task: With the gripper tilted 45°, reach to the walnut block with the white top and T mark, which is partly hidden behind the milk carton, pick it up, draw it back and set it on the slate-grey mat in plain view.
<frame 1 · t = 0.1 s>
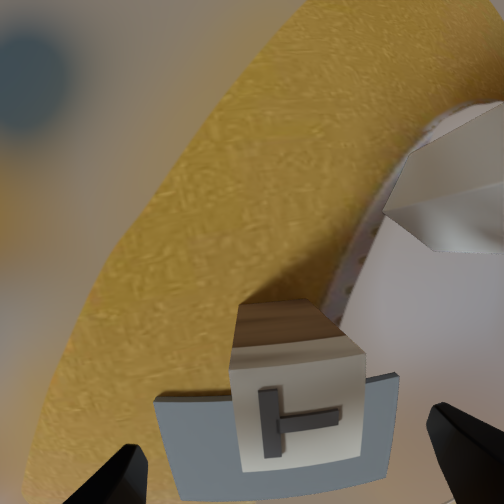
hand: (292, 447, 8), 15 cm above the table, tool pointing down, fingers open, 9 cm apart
marked block: (275, 334, 23), on the table
mat: (282, 448, 23), on the table
milk: (421, 202, 23), on the table
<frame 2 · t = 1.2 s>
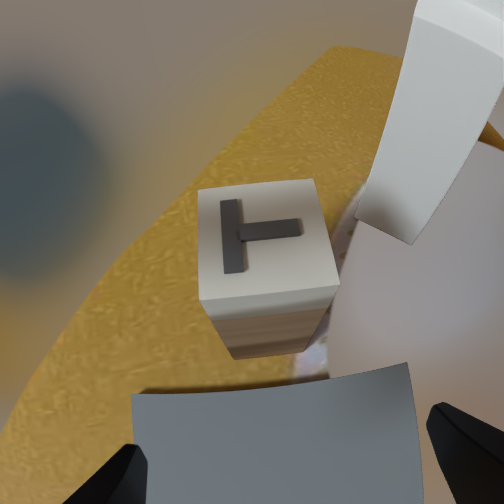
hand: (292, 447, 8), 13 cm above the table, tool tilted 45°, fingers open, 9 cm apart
marked block: (264, 323, 23), on the table
mat: (280, 467, 18), on the table
milk: (390, 210, 28), on the table
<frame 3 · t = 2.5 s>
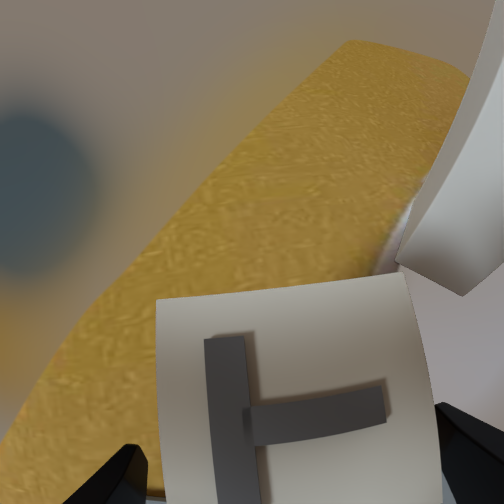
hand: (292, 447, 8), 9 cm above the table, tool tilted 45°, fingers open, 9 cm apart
marked block: (277, 415, 16), on the table
milk: (436, 248, 20), on the table
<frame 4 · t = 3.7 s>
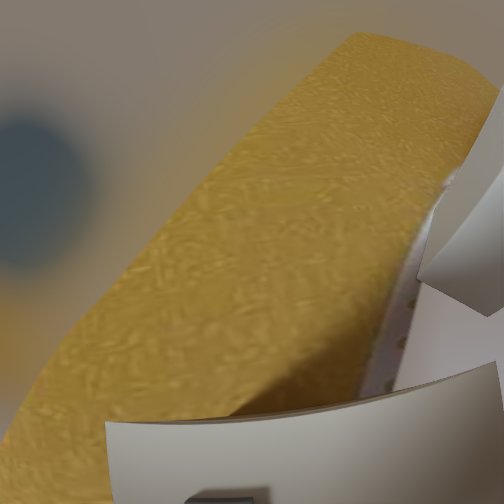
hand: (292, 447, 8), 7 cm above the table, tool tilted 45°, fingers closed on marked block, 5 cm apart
marked block: (284, 458, 13), on the table, touching gripper
milk: (460, 262, 17), on the table
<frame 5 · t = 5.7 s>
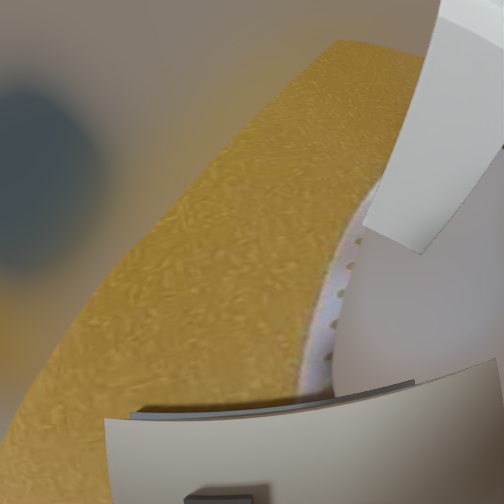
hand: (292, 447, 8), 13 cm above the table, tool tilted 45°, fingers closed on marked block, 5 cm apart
marked block: (284, 457, 13), point 6 cm above the table, touching gripper
mat: (283, 485, 17), on the table
milk: (399, 217, 26), on the table
when the fingers open (9 cm above the table, at t = 7.5 s): marked block drops 1 cm, resting on mat.
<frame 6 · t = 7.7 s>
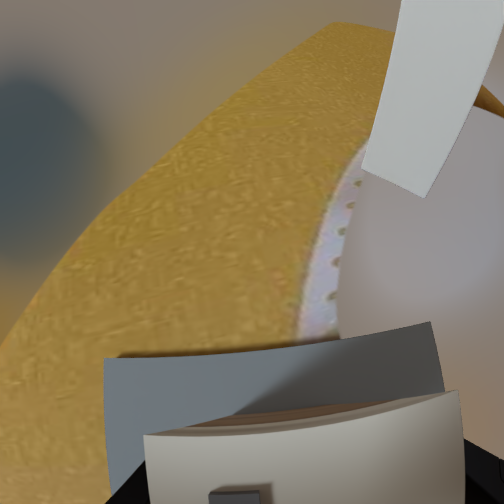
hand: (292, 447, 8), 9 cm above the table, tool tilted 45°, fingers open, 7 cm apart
marked block: (283, 454, 14), point 1 cm above the table, touching mat
mat: (282, 452, 15), on the table
milk: (399, 164, 25), on the table
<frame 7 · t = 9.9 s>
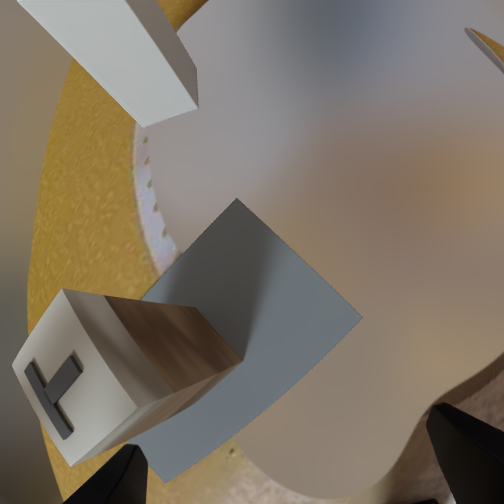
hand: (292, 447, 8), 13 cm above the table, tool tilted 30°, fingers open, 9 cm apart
marked block: (194, 357, 21), point 1 cm above the table, touching mat
mat: (199, 355, 22), on the table
milk: (171, 97, 28), on the table
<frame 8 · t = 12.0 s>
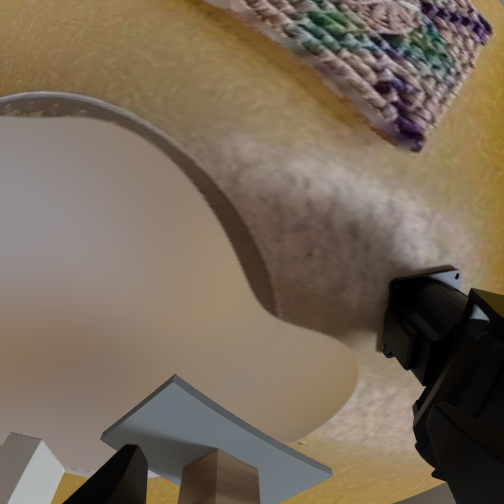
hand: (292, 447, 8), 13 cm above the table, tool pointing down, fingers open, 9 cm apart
marked block: (220, 468, 24), point 1 cm above the table, touching mat
mat: (220, 461, 25), on the table
milk: (38, 450, 26), on the table
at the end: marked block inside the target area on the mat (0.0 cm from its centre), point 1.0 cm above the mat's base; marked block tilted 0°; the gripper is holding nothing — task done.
